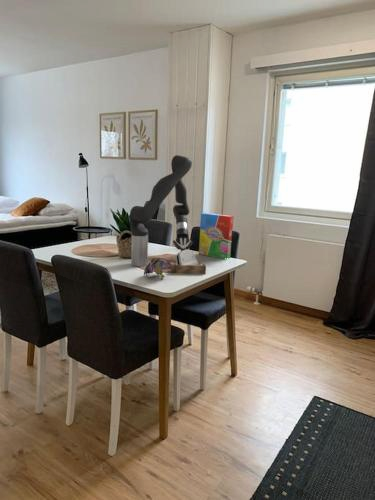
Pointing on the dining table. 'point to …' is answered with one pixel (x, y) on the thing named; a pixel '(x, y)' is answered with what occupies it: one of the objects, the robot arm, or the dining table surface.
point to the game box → (215, 235)
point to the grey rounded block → (186, 258)
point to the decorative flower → (157, 266)
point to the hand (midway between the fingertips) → (183, 254)
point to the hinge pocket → (189, 269)
